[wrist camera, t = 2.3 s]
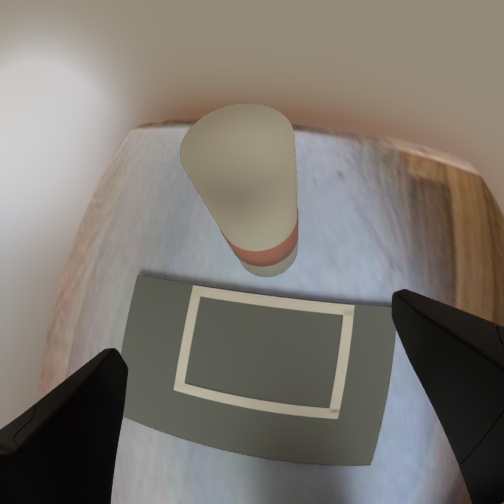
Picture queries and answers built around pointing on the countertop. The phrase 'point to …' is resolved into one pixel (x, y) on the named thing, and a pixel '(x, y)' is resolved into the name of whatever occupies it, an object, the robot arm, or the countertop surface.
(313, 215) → the countertop surface
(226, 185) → the player figure
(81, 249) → the countertop surface
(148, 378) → the mat
